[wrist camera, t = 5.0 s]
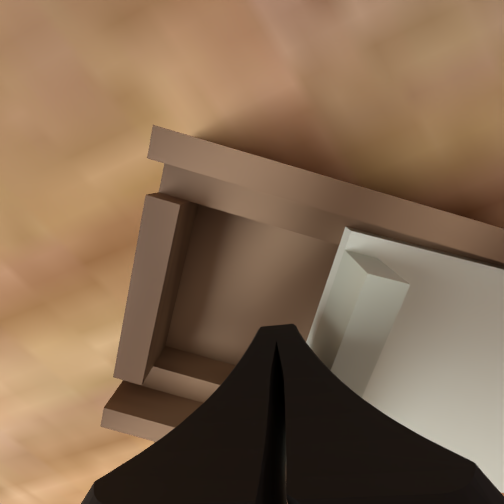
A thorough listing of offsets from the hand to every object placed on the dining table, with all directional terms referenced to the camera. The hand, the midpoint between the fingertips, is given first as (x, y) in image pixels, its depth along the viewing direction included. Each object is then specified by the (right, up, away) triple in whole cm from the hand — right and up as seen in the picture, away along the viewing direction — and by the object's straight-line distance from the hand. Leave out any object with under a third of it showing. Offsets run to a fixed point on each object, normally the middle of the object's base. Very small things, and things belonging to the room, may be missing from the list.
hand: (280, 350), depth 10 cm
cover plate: (+7, -1, +2) cm, 7 cm away
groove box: (+1, +1, +4) cm, 4 cm away
